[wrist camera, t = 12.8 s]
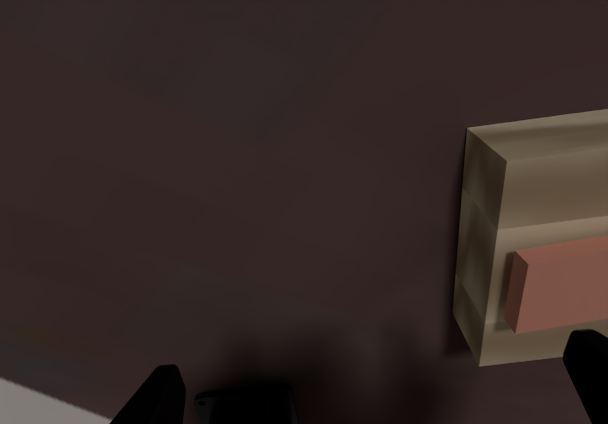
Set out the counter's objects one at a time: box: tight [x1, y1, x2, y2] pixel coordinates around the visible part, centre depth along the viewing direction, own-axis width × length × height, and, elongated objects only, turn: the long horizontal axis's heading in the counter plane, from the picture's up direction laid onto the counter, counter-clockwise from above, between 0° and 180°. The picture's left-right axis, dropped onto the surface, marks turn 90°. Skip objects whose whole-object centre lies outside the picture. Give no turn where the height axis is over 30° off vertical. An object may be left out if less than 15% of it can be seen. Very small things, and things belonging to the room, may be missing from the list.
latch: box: [504, 235, 608, 334], centre depth 18 cm, size 7×4×1 cm, turn 97°
